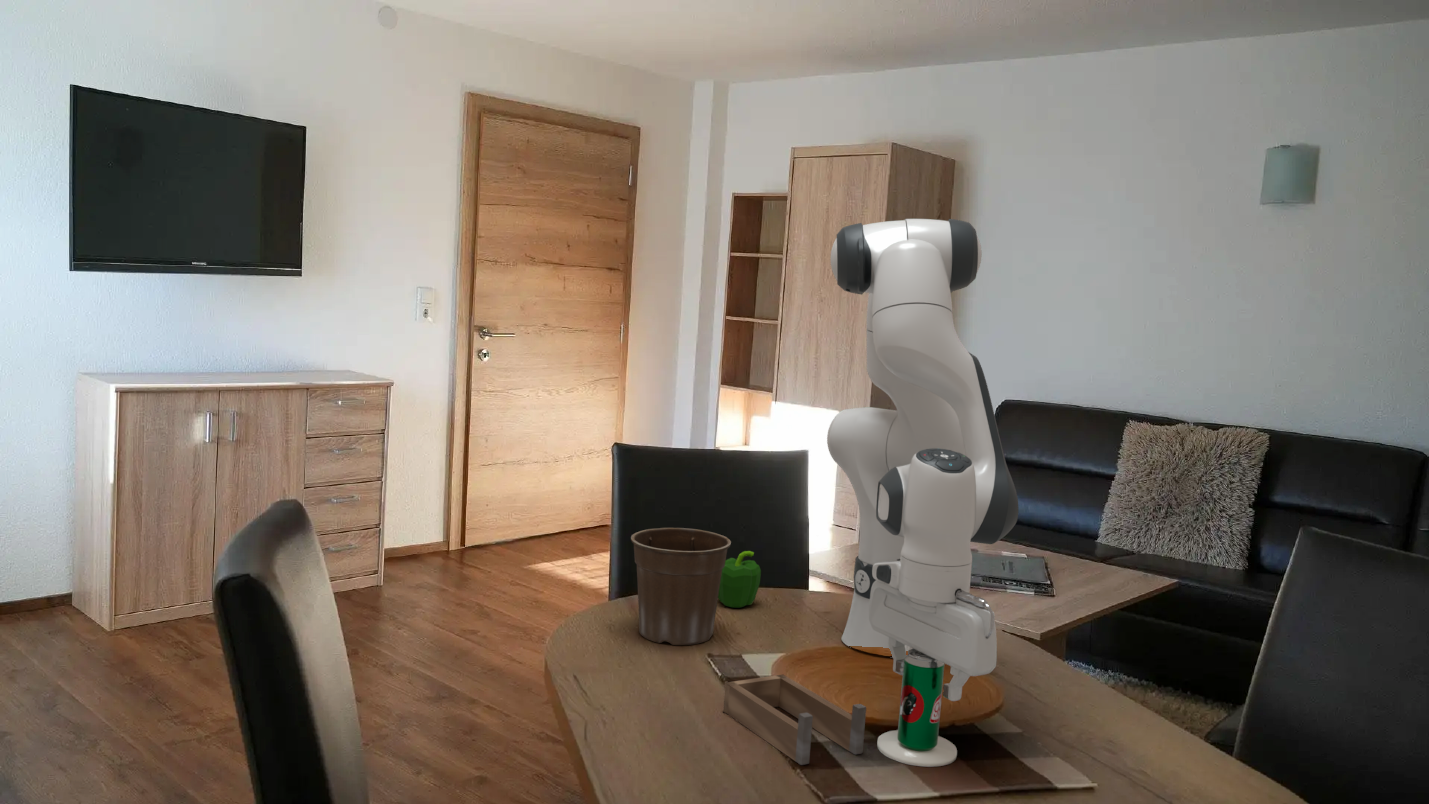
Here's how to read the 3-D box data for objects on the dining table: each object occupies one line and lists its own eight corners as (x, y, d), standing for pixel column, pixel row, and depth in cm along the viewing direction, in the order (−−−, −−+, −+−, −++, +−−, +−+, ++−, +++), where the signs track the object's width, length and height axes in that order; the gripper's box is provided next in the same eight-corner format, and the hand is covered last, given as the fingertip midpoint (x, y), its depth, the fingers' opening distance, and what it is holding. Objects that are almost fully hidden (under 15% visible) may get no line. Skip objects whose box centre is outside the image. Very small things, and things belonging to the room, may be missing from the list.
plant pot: (666, 657, 171) (673, 554, 170) (605, 628, 183) (611, 532, 182) (744, 640, 182) (751, 544, 180) (682, 615, 194) (687, 524, 192)
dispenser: (781, 702, 155) (784, 660, 155) (862, 753, 140) (866, 707, 139) (723, 711, 151) (726, 668, 150) (800, 765, 135) (804, 717, 134)
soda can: (937, 755, 139) (945, 662, 138) (896, 750, 140) (904, 657, 139) (936, 740, 144) (944, 650, 143) (897, 734, 145) (904, 645, 144)
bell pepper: (707, 607, 199) (711, 553, 198) (717, 596, 207) (721, 543, 206) (753, 613, 198) (757, 558, 197) (762, 601, 206) (765, 548, 205)
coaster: (920, 729, 149) (921, 725, 148) (973, 759, 140) (973, 754, 140) (861, 740, 143) (861, 736, 143) (912, 772, 135) (912, 767, 135)
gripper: (1013, 600, 133) (1003, 711, 134) (900, 557, 150) (893, 656, 152) (975, 606, 129) (965, 720, 131) (864, 562, 147) (856, 663, 148)
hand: (925, 685), depth 141 cm, fingers open, 8 cm apart
